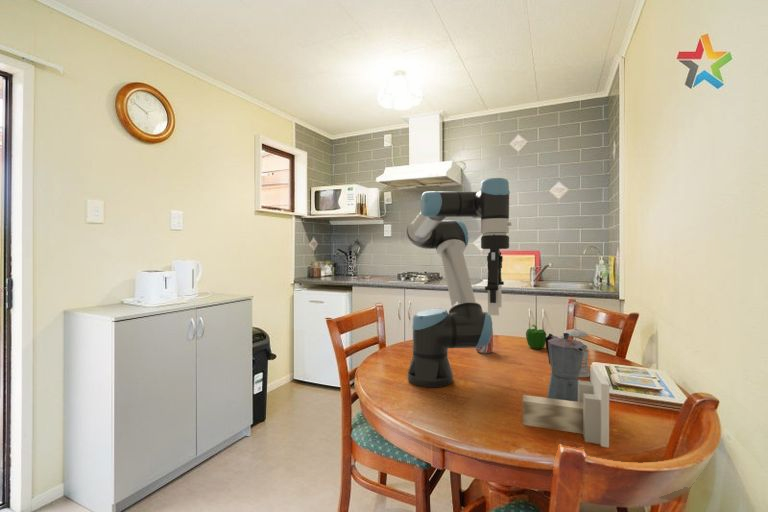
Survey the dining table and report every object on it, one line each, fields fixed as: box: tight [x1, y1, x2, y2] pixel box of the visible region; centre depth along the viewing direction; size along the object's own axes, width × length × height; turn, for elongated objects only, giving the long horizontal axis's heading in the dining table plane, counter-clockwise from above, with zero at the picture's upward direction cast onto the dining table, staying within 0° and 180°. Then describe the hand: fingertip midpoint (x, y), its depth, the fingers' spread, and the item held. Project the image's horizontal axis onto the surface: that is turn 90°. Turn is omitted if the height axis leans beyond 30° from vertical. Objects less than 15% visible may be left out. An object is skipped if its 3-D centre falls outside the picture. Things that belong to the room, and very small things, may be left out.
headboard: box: [578, 364, 610, 449], centre depth 88 cm, size 4×14×14 cm, turn 159°
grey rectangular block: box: [522, 394, 583, 435], centre depth 90 cm, size 16×4×6 cm, turn 69°
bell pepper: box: [525, 323, 547, 350], centre depth 161 cm, size 8×8×10 cm
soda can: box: [475, 328, 494, 354], centre depth 156 cm, size 7×7×12 cm
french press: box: [558, 301, 590, 378], centre depth 129 cm, size 10×12×25 cm
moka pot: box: [545, 332, 586, 402], centre depth 105 cm, size 10×15×20 cm, turn 16°
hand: (495, 311), depth 102 cm, fingers open, 13 cm apart
